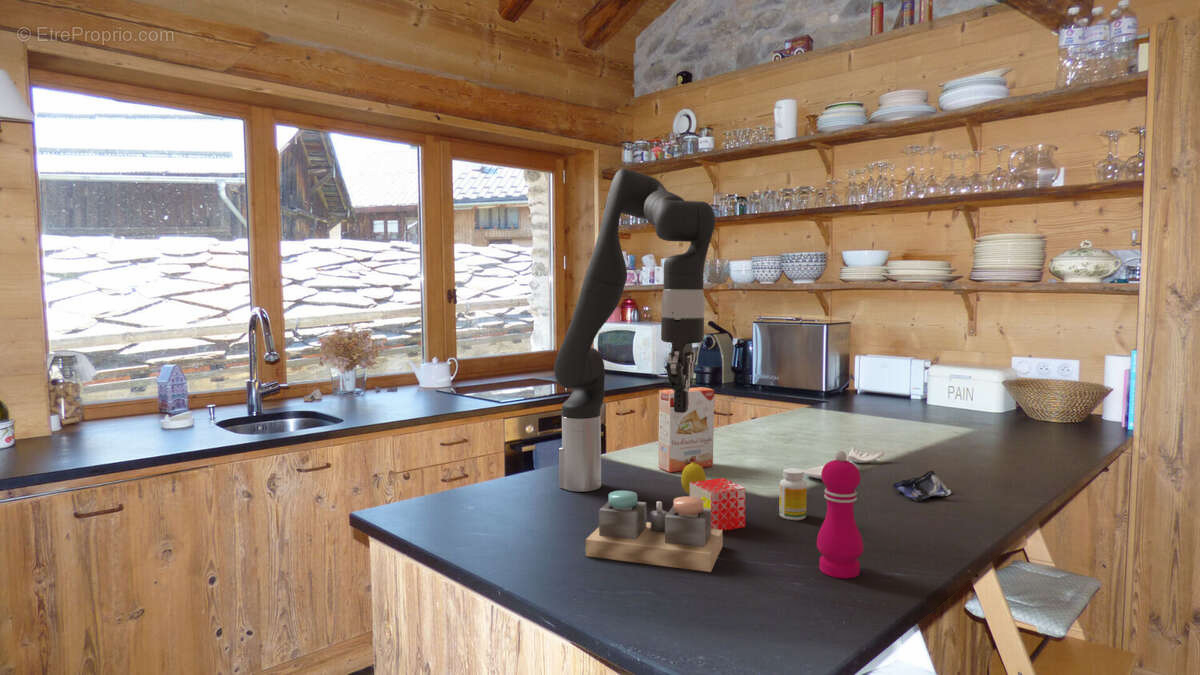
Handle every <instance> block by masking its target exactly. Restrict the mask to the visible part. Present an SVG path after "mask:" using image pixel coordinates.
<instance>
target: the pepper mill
mask: <svg viewBox="0 0 1200 675" xmlns="http://www.w3.org/2000/svg"><path fill="white" fill-rule="evenodd" d="M847 456H848V455H847V454H846V452H845V451H843V450H838V451H837V452H836V453H835V456H834V458H835V459H833V460H829V461H828V462H826V463H825V464H824V465H825V466H824V467H823V469H822V474H821V477H822V479H821V481H822V483H823V484H824V485H825V487H826V488H824V494H823V495H824V496H823V497H824V499H826V505H827V506H826V507H827V508H826V513H825V514H826V515H825V517H824V520H823V523H822V524H821V526H820V529H819V531H818V533H817V537H816V548H817V550H818V551H819V552H820V554H821V556H820V557H819V571H821V572H822V573H823V574H824V575H827V576H828V577H833V578H838V579H853V578H856V577H858V576H859V575H860V573H861V571H860V570H861V567H860V566H861V565H860V564H861V563H860V561H859V557H861V555H862V554H863V552H864V541H863V537H862V535H861V532H860V529H859V528H858V526H857V523H856V520H855V515H854V514H855V513H854V505H855V502H856V501H857V500H858V498H857V494H858V492H857V491H856V488H857V487H859V485H860V484H861V483H860V482H861V473H860V470H859V469H858V467H857V466H856V465H855V464H853V462H852V461H845V460H846V458H847Z"/></svg>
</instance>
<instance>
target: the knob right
mask: <svg viewBox="0 0 1200 675" xmlns="http://www.w3.org/2000/svg"><path fill="white" fill-rule="evenodd" d="M673 506H674V511H675V512H677V513H679V516H685V517H695V518H698V514H699V513H702V512H703V500H702V499H700V498H697V497H690V495H688V496H678V497H675V498H674V499H673Z"/></svg>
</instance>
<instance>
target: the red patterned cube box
mask: <svg viewBox="0 0 1200 675" xmlns="http://www.w3.org/2000/svg"><path fill="white" fill-rule="evenodd" d="M689 497H697V498H700V499H702V500H703V508H709V509H711V529H717V530H725V531H729V530H735V528H736V529H741V528H745V527H746V487H745V486H742V485H740V484H737V483H735V482H733V481H731V480H728V479H726V478H723V477H720V478H714V479H706V480H704V481H696V482H690V494H689ZM727 529H728V530H727Z"/></svg>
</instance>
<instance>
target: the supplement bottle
mask: <svg viewBox="0 0 1200 675" xmlns="http://www.w3.org/2000/svg"><path fill="white" fill-rule="evenodd" d="M803 470H804V469H800V468H793V467H788V468H787V467H786V468H785V469H783V471H782V473H783V474H782V476H783V479H781V480H780V482H779V489H778V490H779V495H778V496H779V500H778V502H779V503H778V506H779V507H778V511H779V512H778V513H779V516H780V517H781V518H783V519H785V520H790V521H801V520H804V519H805V518H806V517H807V498H808V497H807V495H808V494H807V493H808V492H807V491H808V487H807V486H808V485H807V482H806V481H805V480H804V478H805V475H804V472H803Z"/></svg>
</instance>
